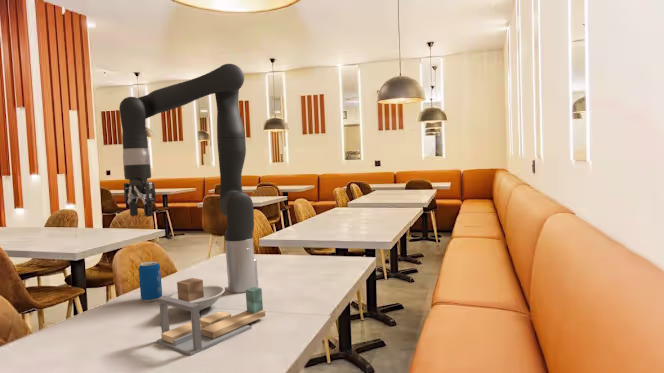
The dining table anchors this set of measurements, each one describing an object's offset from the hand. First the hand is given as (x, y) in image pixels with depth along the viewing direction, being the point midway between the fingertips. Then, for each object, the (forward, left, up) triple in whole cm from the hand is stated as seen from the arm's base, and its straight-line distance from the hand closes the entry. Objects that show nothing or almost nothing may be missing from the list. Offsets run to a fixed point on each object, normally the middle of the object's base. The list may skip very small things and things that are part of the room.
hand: (141, 216), depth 134 cm
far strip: (+10, +34, -28) cm, 45 cm away
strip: (-1, +40, -28) cm, 49 cm away
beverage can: (-4, -5, -28) cm, 29 cm away
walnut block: (-1, +21, -23) cm, 31 cm away
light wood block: (0, +34, -28) cm, 44 cm away
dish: (-5, +19, -28) cm, 35 cm away
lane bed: (+6, +37, -28) cm, 47 cm away
